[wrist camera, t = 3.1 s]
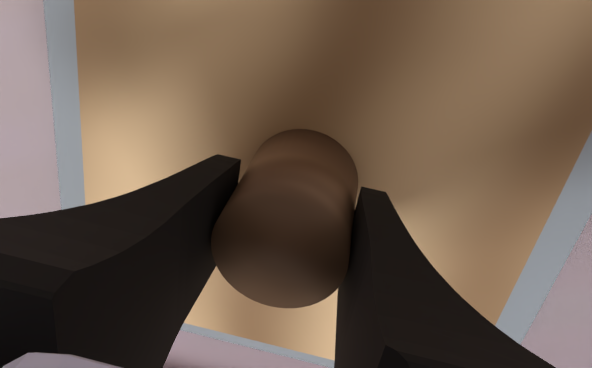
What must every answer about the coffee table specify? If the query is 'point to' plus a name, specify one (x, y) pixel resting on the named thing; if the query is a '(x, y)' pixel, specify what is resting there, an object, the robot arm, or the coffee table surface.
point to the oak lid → (340, 136)
